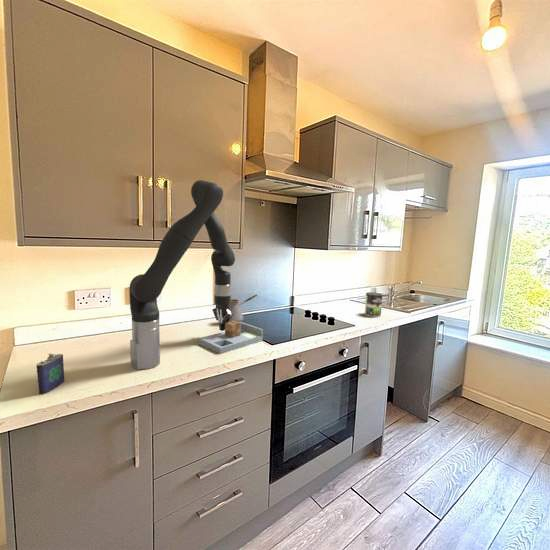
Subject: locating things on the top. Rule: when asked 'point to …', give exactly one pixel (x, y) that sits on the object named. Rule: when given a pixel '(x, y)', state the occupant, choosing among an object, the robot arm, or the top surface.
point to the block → (232, 329)
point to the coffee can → (373, 304)
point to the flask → (50, 373)
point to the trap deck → (232, 339)
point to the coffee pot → (237, 309)
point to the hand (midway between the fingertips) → (222, 330)
